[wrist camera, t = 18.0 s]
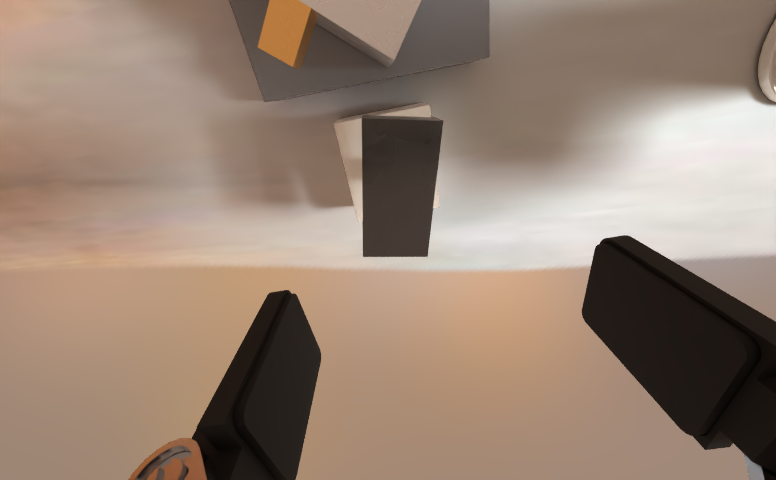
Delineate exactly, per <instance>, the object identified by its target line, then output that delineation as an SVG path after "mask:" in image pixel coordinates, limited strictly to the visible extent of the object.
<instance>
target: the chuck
mask: <svg viewBox="0 0 776 480" xmlns="http://www.w3.org/2000/svg"><path fill="white" fill-rule="evenodd" d="M420 2H421V0H270V1H269V5H268V8H267V12H266V16H265V20H264V24H263V28H262V32H261V35H260V39H259V43H258V48H260V49H261V50H263V51H265V52H267V53H269V54H270V55H272V56H274V57H276V58H277V59H279V60H281V61H283V62H285V63H286V64H288V65H290V66H292V67H294V68H297V69H301V66H302V63H303V60H304V57H305V54H306V51H307V48H308V45H309V42H310V39H311V35H312V32H313V29H314V26H315V23H316V24H318V25H319V26H321V27H323V28H324V29H326V30H327V31H329V32H331V33H332V34H334V35H336V36H337V37H339V38H340V39H342V40H344V41H345V42H347V43H349V44H350V45H352V46H353V47H355V48H357V49H358V50H360V51H361V52H363V53H365V54H366V55H368V56H370V57H371V58H373V59H374V60H376V61H378V62H379V63H381V64H383V65H384V66H386V67H387V68H389V67H390V65H391V64H392V63H393V61H394V60H395V58H396V56H397V53H398V51H399V49H400V47H401V44H402V42H403V40H404V38H405V35H406V33H407V31H408V29H409V27H410V24H411V22H412V20H413V18H414V15H415V13H416V11H417V9H418V6H419V4H420Z"/></svg>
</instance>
